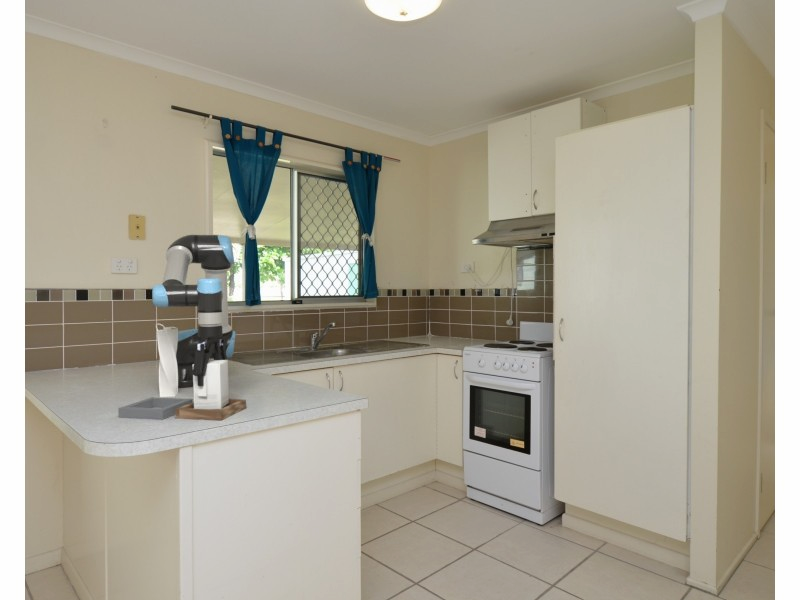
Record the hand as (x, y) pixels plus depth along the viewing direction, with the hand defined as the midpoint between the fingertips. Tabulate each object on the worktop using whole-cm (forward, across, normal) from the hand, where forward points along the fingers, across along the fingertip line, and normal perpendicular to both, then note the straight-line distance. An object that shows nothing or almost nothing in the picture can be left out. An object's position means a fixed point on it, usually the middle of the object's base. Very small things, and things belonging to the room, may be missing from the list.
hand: (211, 392), depth 168 cm
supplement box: (+5, 0, 0) cm, 5 cm away
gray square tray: (+7, +2, -19) cm, 20 cm away
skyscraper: (+7, -22, -32) cm, 39 cm away
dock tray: (+7, 0, 0) cm, 7 cm away
